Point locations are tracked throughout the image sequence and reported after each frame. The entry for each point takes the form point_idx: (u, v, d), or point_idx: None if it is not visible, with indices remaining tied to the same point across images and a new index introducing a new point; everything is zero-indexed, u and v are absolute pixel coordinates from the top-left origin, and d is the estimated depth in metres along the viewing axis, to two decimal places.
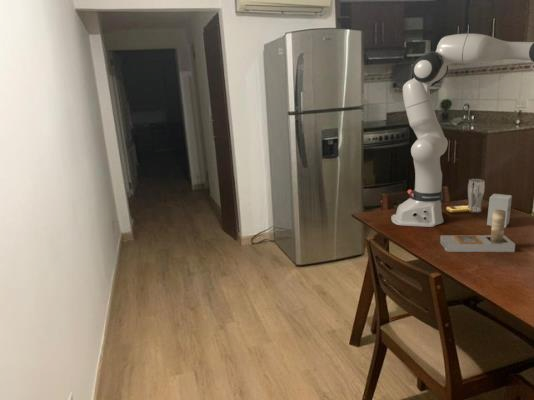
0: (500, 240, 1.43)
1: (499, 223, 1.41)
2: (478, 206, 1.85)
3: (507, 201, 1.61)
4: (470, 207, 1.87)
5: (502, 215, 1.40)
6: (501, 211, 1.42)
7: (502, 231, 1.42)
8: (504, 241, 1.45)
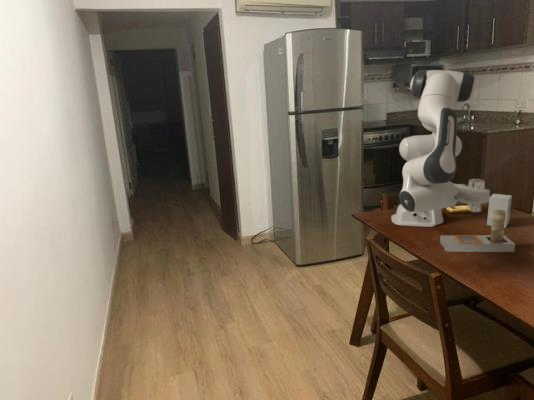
0: (500, 240, 1.43)
1: (499, 223, 1.41)
2: (478, 206, 1.85)
3: (507, 201, 1.61)
4: (470, 207, 1.87)
5: (502, 215, 1.40)
6: (501, 211, 1.42)
7: (502, 231, 1.42)
8: (504, 241, 1.45)
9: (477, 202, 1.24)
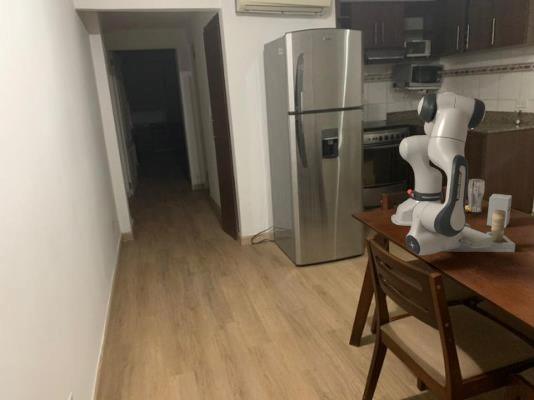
0: (500, 240, 1.43)
1: (499, 223, 1.41)
2: (478, 206, 1.85)
3: (507, 201, 1.61)
4: (470, 207, 1.87)
5: (502, 215, 1.40)
6: (501, 211, 1.42)
7: (502, 231, 1.42)
8: (504, 241, 1.45)
9: (480, 246, 1.29)
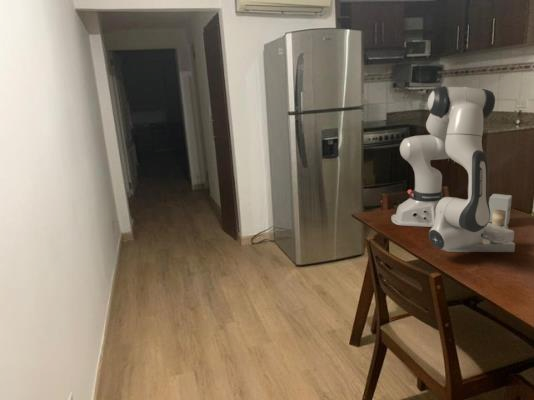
0: None
1: (499, 223, 1.41)
2: None
3: (507, 201, 1.61)
4: None
5: (502, 215, 1.40)
6: (501, 211, 1.42)
7: None
8: None
9: (502, 241, 1.32)
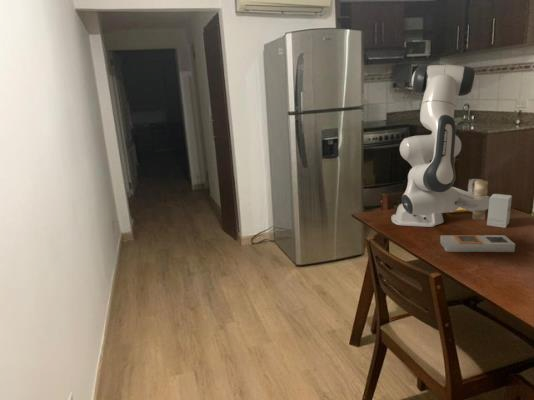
0: (481, 211, 1.41)
1: (480, 193, 1.40)
2: None
3: (507, 201, 1.61)
4: None
5: (483, 185, 1.39)
6: (483, 181, 1.40)
7: None
8: (504, 241, 1.45)
9: (475, 208, 1.31)
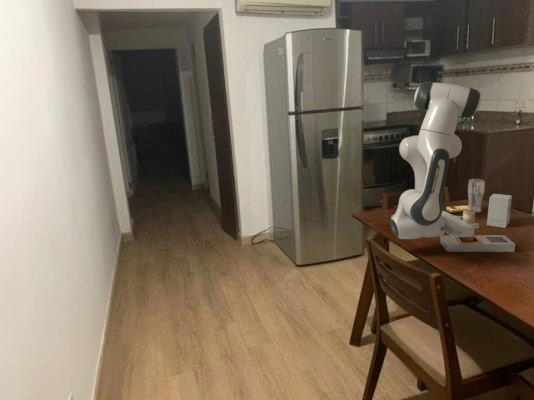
0: (469, 240, 1.45)
1: (467, 222, 1.44)
2: (478, 206, 1.85)
3: (507, 201, 1.61)
4: (470, 207, 1.87)
5: (469, 215, 1.43)
6: (471, 211, 1.44)
7: None
8: (504, 241, 1.45)
9: (459, 235, 1.35)
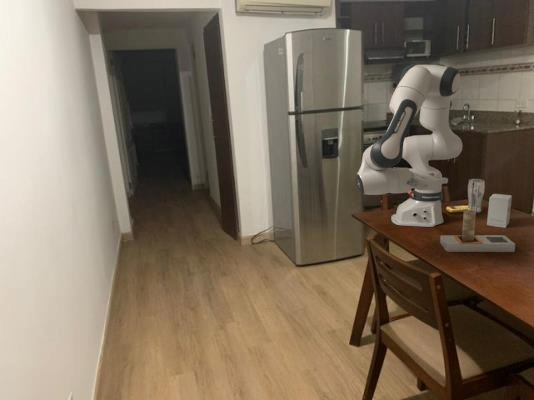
0: (469, 240, 1.45)
1: (467, 223, 1.43)
2: (478, 206, 1.85)
3: (507, 201, 1.61)
4: (470, 207, 1.87)
5: (470, 216, 1.42)
6: (471, 212, 1.43)
7: (471, 231, 1.44)
8: (504, 241, 1.45)
9: (425, 188, 1.30)
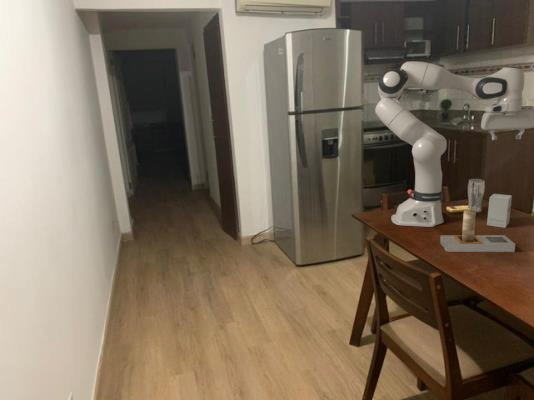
0: (469, 240, 1.45)
1: (467, 223, 1.43)
2: (478, 206, 1.85)
3: (507, 201, 1.61)
4: (470, 207, 1.87)
5: (470, 216, 1.42)
6: (471, 211, 1.43)
7: (471, 231, 1.44)
8: (504, 241, 1.45)
9: None
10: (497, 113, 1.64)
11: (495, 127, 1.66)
